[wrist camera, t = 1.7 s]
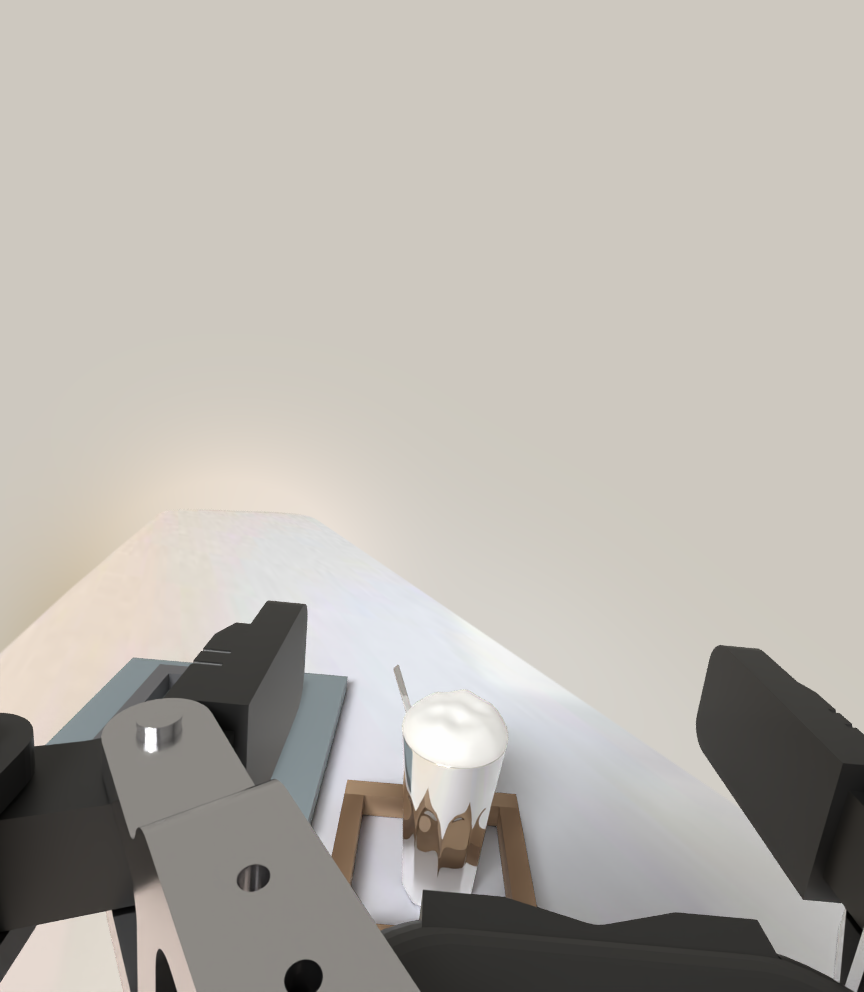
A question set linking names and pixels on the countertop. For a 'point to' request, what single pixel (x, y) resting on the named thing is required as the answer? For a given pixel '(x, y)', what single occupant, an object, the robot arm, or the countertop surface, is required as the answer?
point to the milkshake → (447, 787)
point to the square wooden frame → (390, 804)
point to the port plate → (301, 750)
